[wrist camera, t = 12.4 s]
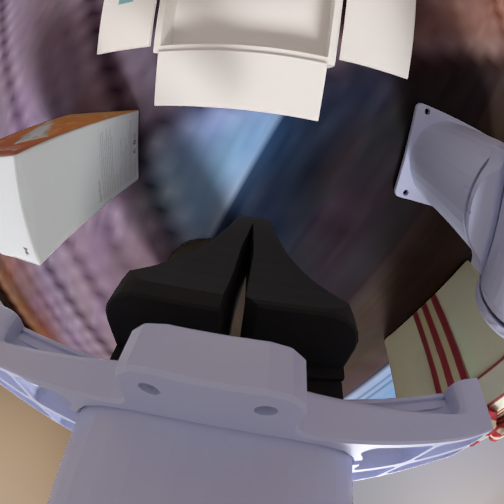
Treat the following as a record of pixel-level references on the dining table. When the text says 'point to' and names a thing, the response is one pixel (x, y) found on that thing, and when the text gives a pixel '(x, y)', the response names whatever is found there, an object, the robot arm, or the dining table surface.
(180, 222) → the dining table surface
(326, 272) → the dining table surface
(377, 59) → the flap
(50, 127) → the small box
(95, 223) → the dining table surface
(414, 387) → the gift box
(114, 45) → the flap
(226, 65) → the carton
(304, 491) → the robot arm
